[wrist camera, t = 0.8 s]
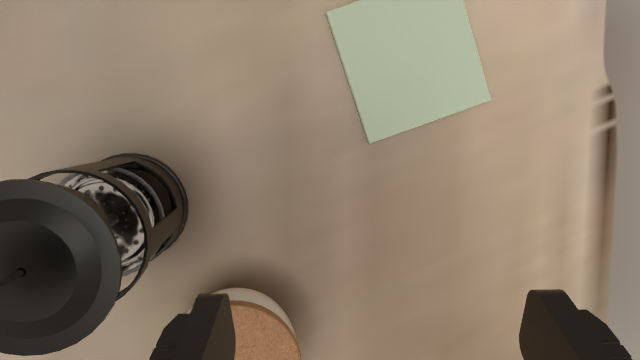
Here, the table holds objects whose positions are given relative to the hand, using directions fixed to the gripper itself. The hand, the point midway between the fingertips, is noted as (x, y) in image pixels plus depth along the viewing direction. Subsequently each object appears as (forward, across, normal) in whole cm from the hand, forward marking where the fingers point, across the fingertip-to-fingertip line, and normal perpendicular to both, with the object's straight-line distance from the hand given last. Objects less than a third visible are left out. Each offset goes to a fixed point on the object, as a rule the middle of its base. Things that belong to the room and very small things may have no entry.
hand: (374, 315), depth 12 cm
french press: (+24, +20, +9) cm, 32 cm away
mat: (+31, -6, -1) cm, 32 cm away
